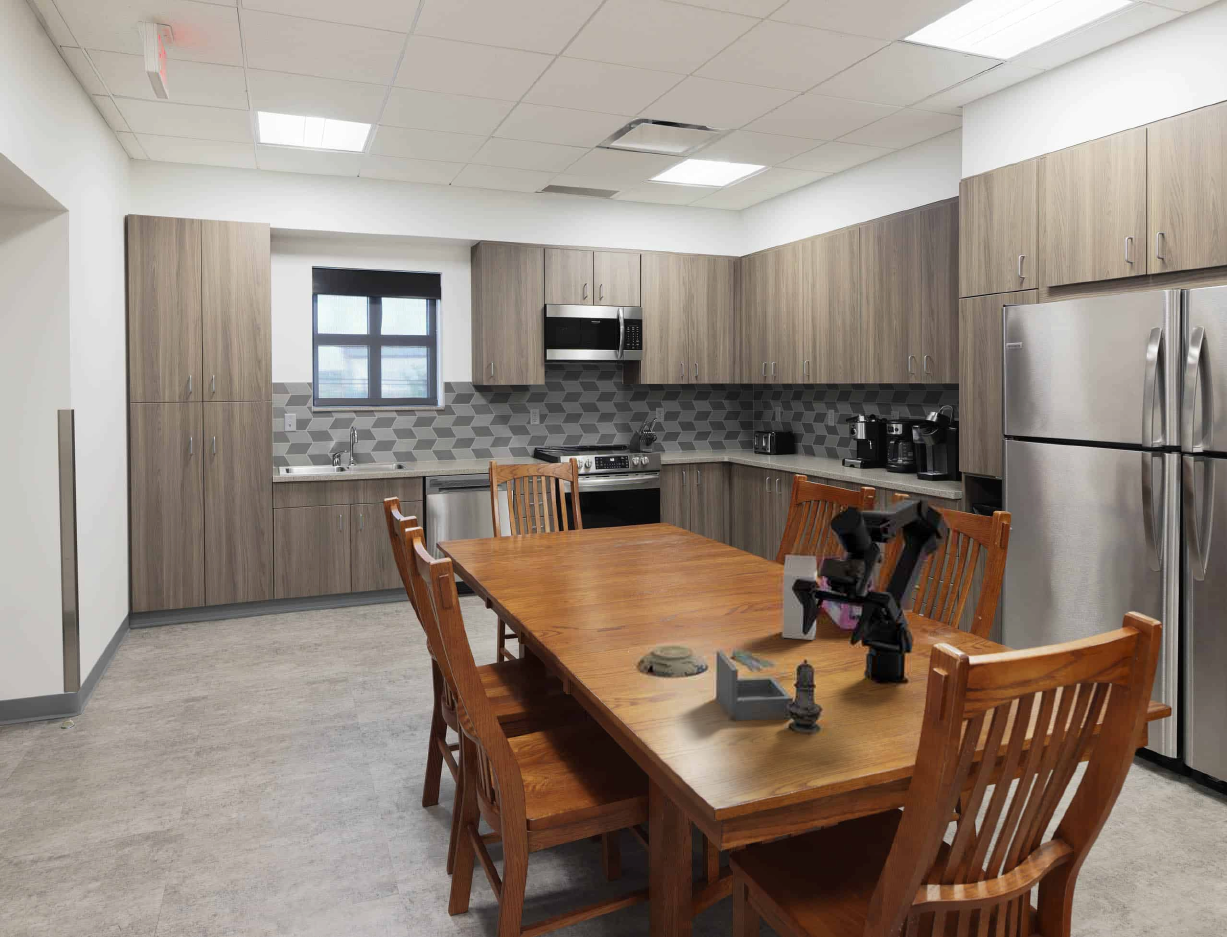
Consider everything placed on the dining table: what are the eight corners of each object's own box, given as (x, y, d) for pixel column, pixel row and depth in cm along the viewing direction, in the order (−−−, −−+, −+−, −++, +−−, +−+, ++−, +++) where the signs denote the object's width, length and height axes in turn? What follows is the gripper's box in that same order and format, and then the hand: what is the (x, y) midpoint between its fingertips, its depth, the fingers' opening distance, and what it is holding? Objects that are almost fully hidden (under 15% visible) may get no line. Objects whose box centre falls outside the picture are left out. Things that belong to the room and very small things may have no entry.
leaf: (801, 691, 162) (801, 686, 162) (765, 692, 160) (765, 687, 160) (762, 654, 181) (762, 650, 181) (729, 655, 180) (730, 651, 180)
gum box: (875, 631, 199) (876, 576, 197) (842, 631, 199) (843, 575, 198) (849, 606, 222) (850, 556, 221) (820, 606, 223) (821, 556, 221)
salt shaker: (828, 732, 139) (830, 662, 138) (797, 736, 137) (798, 666, 136) (810, 719, 144) (812, 652, 143) (780, 723, 143) (781, 655, 142)
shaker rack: (773, 695, 156) (773, 648, 155) (792, 717, 145) (793, 667, 144) (716, 697, 155) (716, 651, 154) (731, 720, 144) (732, 670, 143)
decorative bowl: (718, 662, 177) (653, 652, 183) (718, 645, 176) (654, 636, 183) (693, 685, 163) (625, 673, 170) (693, 667, 163) (625, 656, 170)
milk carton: (813, 640, 191) (814, 559, 189) (782, 638, 193) (783, 558, 191) (816, 632, 197) (817, 554, 196) (785, 629, 200) (787, 552, 198)
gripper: (797, 535, 154) (765, 604, 147) (894, 547, 142) (863, 623, 135) (817, 570, 161) (786, 638, 154) (911, 585, 148) (883, 659, 141)
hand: (827, 638), depth 146 cm, fingers open, 9 cm apart
